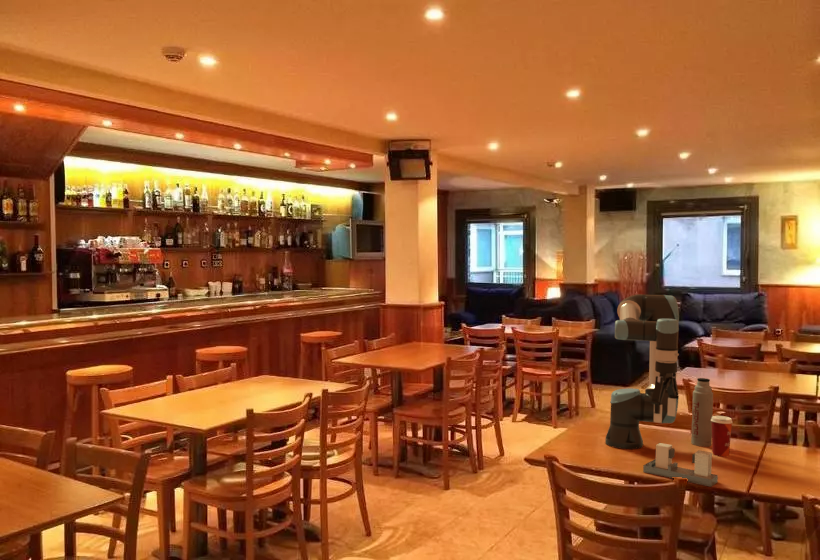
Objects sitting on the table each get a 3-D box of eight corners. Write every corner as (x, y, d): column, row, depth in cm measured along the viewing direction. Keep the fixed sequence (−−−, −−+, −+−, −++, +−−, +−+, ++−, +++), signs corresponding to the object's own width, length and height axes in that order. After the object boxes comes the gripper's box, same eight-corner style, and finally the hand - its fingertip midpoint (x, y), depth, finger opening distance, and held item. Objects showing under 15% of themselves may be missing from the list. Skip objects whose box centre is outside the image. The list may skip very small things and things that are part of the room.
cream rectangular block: (655, 466, 255) (656, 445, 255) (659, 464, 258) (660, 442, 258) (670, 469, 252) (671, 447, 251) (674, 467, 255) (675, 445, 254)
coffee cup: (734, 458, 276) (735, 420, 276) (711, 456, 278) (713, 419, 277) (728, 452, 285) (730, 415, 284) (707, 450, 286) (708, 414, 286)
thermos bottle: (697, 446, 292) (699, 380, 291) (687, 441, 300) (689, 377, 299) (715, 446, 293) (717, 380, 292) (705, 441, 301) (707, 377, 300)
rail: (643, 472, 256) (644, 443, 256) (650, 467, 262) (651, 440, 261) (711, 486, 241) (712, 456, 241) (717, 482, 246) (718, 452, 246)
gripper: (663, 366, 242) (662, 427, 243) (688, 358, 261) (686, 414, 262) (642, 364, 247) (641, 423, 248) (668, 356, 266) (666, 411, 267)
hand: (664, 419), depth 255 cm, fingers open, 13 cm apart
